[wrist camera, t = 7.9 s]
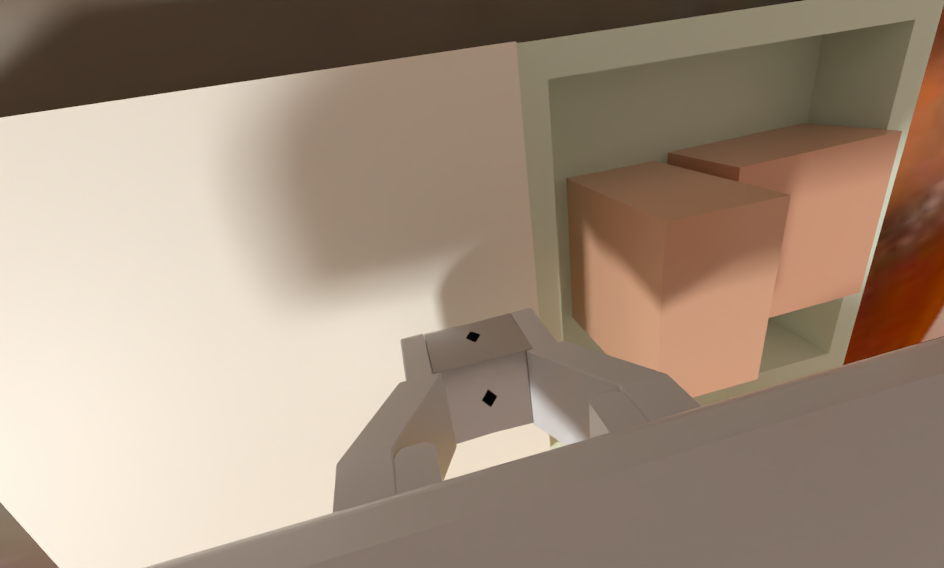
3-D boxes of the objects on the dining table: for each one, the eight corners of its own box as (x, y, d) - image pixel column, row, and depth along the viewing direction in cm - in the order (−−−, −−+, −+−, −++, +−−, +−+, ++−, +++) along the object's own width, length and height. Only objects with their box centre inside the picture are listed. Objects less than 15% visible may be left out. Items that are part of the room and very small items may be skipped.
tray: (477, 54, 12) (510, 44, 9) (836, -1, 14) (951, -22, 11) (518, 395, 17) (546, 451, 15) (774, 326, 19) (842, 366, 16)
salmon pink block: (665, 222, 9) (791, 194, 9) (566, 178, 14) (654, 160, 14) (655, 408, 11) (757, 379, 12) (572, 317, 16) (648, 298, 16)
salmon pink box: (901, 131, 12) (803, 123, 15) (739, 167, 11) (667, 152, 14) (860, 292, 14) (781, 259, 17) (722, 331, 13) (662, 290, 16)
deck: (-71, 136, 10) (-304, 162, 7) (470, 54, 12) (516, 41, 8) (160, 491, 15) (99, 612, 12) (513, 396, 17) (553, 477, 14)
